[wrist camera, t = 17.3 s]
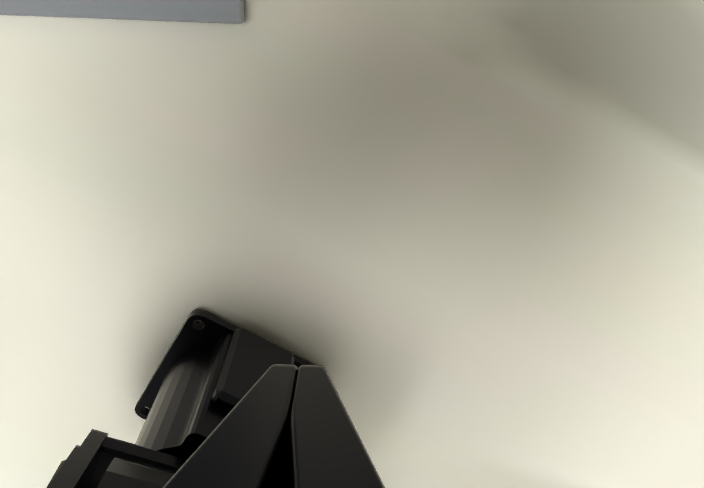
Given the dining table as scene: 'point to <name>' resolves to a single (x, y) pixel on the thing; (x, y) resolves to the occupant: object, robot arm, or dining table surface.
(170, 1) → the mat
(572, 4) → the dining table surface
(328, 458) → the robot arm
